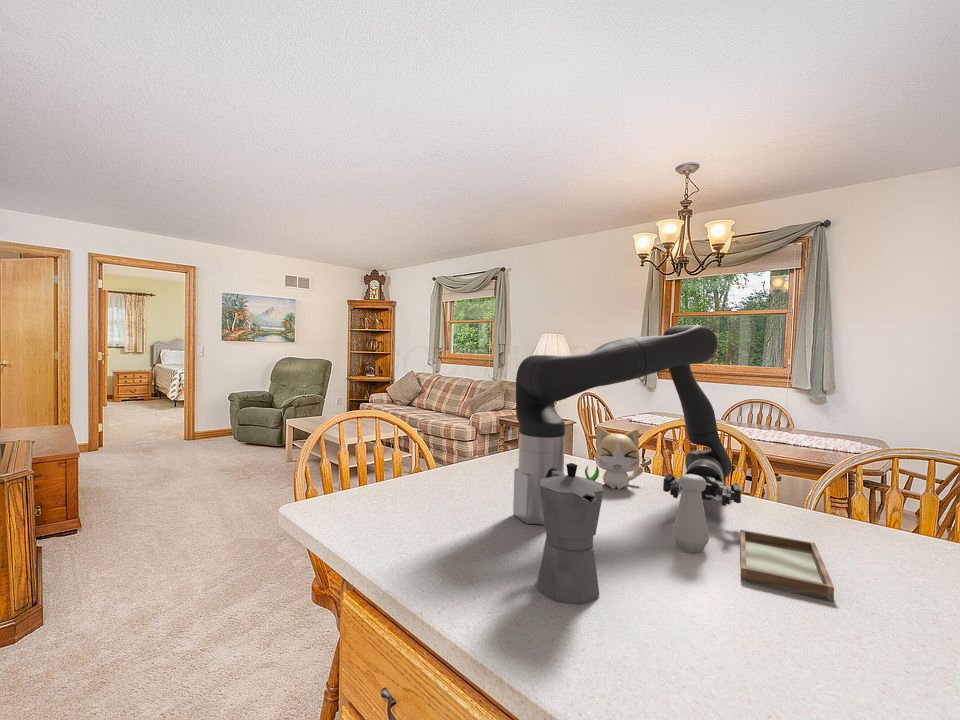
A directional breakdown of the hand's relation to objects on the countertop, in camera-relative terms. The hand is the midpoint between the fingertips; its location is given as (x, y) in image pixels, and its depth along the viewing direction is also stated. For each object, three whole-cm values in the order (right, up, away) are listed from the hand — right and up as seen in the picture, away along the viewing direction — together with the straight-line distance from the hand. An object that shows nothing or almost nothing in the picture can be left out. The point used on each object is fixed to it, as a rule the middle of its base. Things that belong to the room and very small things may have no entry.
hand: (699, 496), depth 91 cm
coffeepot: (-30, -7, -22) cm, 37 cm away
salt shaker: (-5, -7, -8) cm, 12 cm away
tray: (+7, -7, -14) cm, 17 cm away
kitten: (-8, -7, +31) cm, 33 cm away
